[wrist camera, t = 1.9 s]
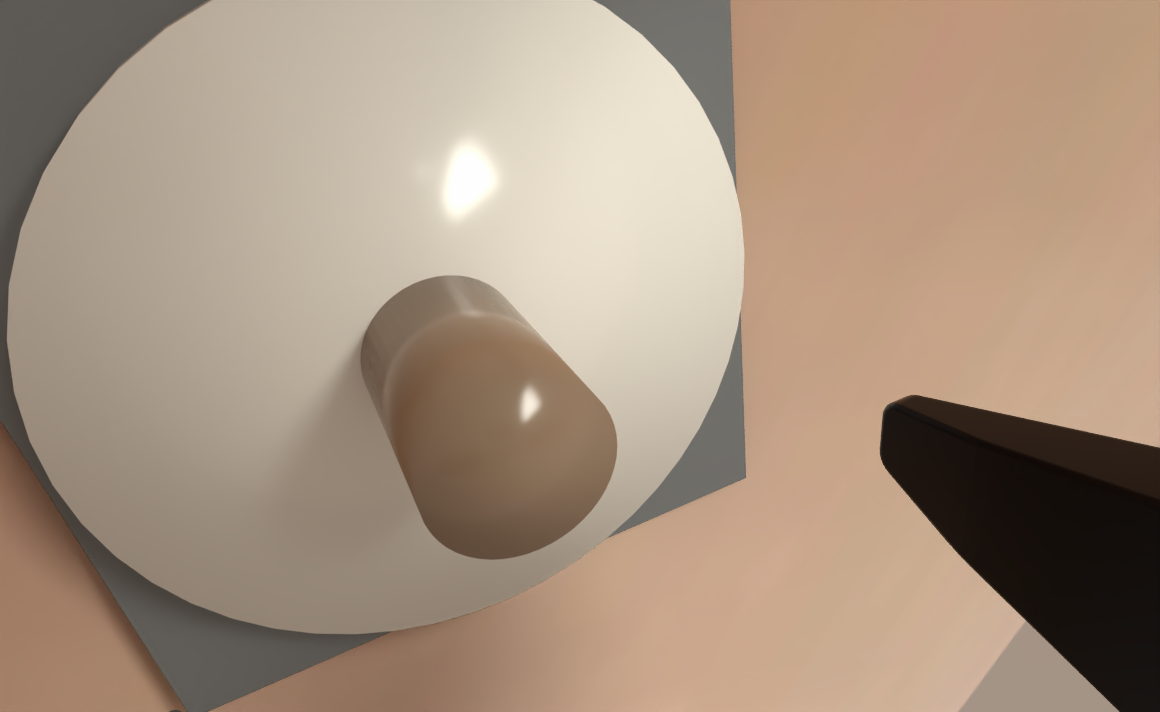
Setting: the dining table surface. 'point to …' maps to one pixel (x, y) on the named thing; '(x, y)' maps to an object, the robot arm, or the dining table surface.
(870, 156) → the dining table surface
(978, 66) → the dining table surface
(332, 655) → the mat
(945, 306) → the dining table surface
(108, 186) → the lid
